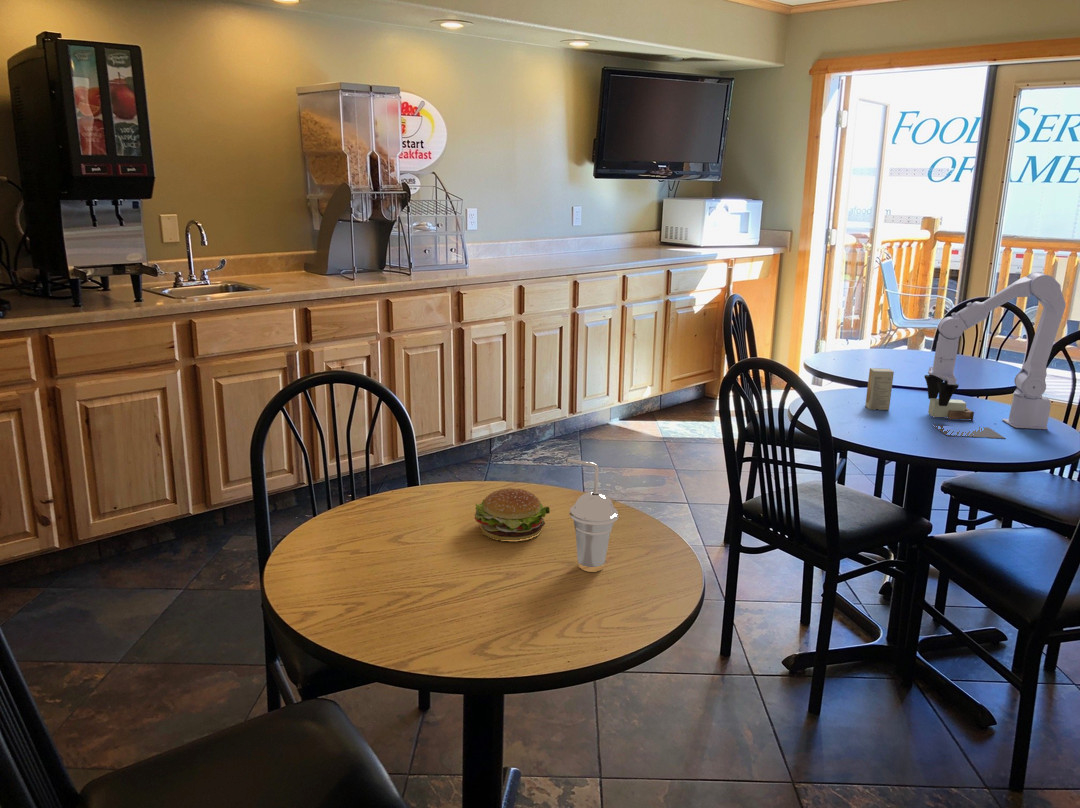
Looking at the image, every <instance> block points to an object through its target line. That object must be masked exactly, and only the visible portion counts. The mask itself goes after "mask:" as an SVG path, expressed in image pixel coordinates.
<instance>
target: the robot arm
mask: <svg viewBox="0 0 1080 808" xmlns="http://www.w3.org/2000/svg"><path fill="white" fill-rule="evenodd" d="M1061 287H1062V286H1061V284H1060V283H1059V282H1058V281H1057V280H1056V278H1054V277H1053V276H1052V275H1049V274H1046V273H1044V272H1042V271H1033V272H1030V273H1029V274H1028V275H1026V276H1022V277H1021V278H1019V279H1017V280H1015V281H1014V282H1013V283H1011V284H1009V285H1008V286H1006V287H1005V288H1003V289H1001V290H1000V291H998V292H997V293H995V294H993V295H991V297H989V298H987V299H986V300H984V301H982V302H981V301H973V302H971V301H970V302H968V303H966V306H965V307H963V308H962V309H960V310H959V311H957V312H952V313H950V314H951V316H947V317H946V316H945V317H944V318H942V319H941V320H940V322H939V323H938V324H937V329H938V331H939V333H938V336H937V341H936V346H935V347H936V348H935V351H934V358H933V365H932V366H929V368H928V371H927V374H924V379H925V382H926V386H927V387H926V388H927V397H928V400H930V398H935V399H939V406H947V405H948V403H949V400H950V399H951V398H952V396H953V395H954V393H955V392H956V390H957V389H959V386H960V385H959V384H958V383H957V380H958V379H957V378H956V377H955V374H954V371H955V367H956V362H957V361H956V359H957V355H958V349H959V341H960V337H961V336H962V335H963V333H964V331H965V330H966V331H967V330H969V329H970V328H972V327H974V326H976V325H977V324H979V323H981V322H982V321H984V320H986V319H987V318H988V316H989V313H990V312H992V311H993V310H995V309H997V308H999V307H1001V306H1003V305H1004V304H1006V303H1009V302H1011V301H1013V300H1014V299H1016V298H1031V296H1033V297H1035V298H1036V299H1037V301H1038V302H1039V303H1040V304H1041V306H1042V307H1043V308H1042V311H1041V315H1040V317H1039V321H1038V324H1037V327H1036V331H1035V333H1034V336H1033V340H1032V343H1031V346H1030V349H1029V352H1028V354H1027V355H1028V356H1027V358H1026V361H1025V362H1024V363H1023V364H1022V367H1021V369H1020V371H1019V372H1017V374H1016V375H1015V377H1014V380H1013V381H1014V385H1015V387H1016V389H1015V390H1014V392H1013V395H1012V400H1011V405H1010V410H1009V411H1010V412H1009V414H1008V415H1009V417H1008V418H1002V419H1001V420H1002V421H1003V422H1005V423H1006V424H1008V425H1010V426H1011V427H1013V428H1016V429H1031V430H1033V429H1034V430H1035V429H1036V430H1048V429H1049V427H1048V422H1049V418H1050V412H1051V407H1052V405H1051V400H1050V399H1049V397H1046V396H1044V395H1043V394H1044V393H1045V392H1046V390H1047V383H1046V378H1047V364H1048V360H1049V359H1050V355H1051V352H1052V349H1053V345H1054V343H1055V340H1056V337H1057V333H1058V331H1059V328H1060V325H1061V322H1062V318H1063V315H1064V313H1065V310H1066V306H1067V305H1066V301H1065V298H1064V295H1063V291H1062V288H1061Z"/></svg>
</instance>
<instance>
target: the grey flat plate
mask: <svg viewBox="0 0 1080 808" xmlns="http://www.w3.org/2000/svg"><path fill="white" fill-rule="evenodd" d="M933 425H934V426H935V427H936V425H938V424H933ZM938 426H940V427H941V429H938ZM938 426H937V427H936V428H937V429H938V430H937V429H936V428H935V427H934V428H935V429H936V430H937V431H939V430H940V431H941V434H943V433H944V434H945V435H944V434H943V435H944V436H946V434H947V433H948V432H949V431H950V430H949V431H948V430H947V431H948V432H947V431H944V432H943V430H944V428H943V424H942V426H941V424H939V425H938ZM978 427H979V430H978V431H977V432H976V430H975V431H973V432H972V433H971V434H970V435H969V433H970V431H969V432H968V433H967V434H966V435H967V436H968V435H969V437H968V438H977V437H988V438H987V439H999V438H1003V440H1005V439H1006V437H1004V436H1003V435H1002V434H1000V433H998V432H997V431H996V430H993V429H991V428H990V427H988V426H987V427H986V426H985V427H986V428H985V427H983V428H984V430H983V431H982V428H981V432H980V427H981V426H978ZM942 428H943V429H942ZM940 431H939V432H940ZM953 432H954V431H953ZM953 432H952V433H953ZM959 432H960V431H959ZM959 432H957V435H958V434H959ZM952 433H951V434H952ZM963 433H964V432H962V433H961V435H960V436H962V435H963ZM965 433H966V432H965ZM951 434H950V435H951ZM973 434H974V435H973ZM950 435H947V436H946V437H951V436H950ZM957 435H956V436H957ZM966 435H965V436H966ZM972 436H973V437H972ZM953 437H955V435H954V436H953Z"/></svg>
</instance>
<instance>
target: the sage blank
mask: <svg viewBox="0 0 1080 808" xmlns="http://www.w3.org/2000/svg"><path fill="white" fill-rule="evenodd" d="M928 404H929V405H928V411H927V414H928V413H929V414H930V415H931V416H934V417H933V418H935V417H948V412H949V410H952V411H965V409H966V408H967V405H968V404H967V403H966V402H965V401H964V400H962V399H951V398H950V400H949V403H948V405H947V406H939V398H937V399H935V398H930V399H929V403H928ZM929 414H928V415H929ZM930 415H929V416H930ZM931 416H930V417H931Z"/></svg>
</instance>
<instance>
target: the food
mask: <svg viewBox="0 0 1080 808" xmlns="http://www.w3.org/2000/svg"><path fill="white" fill-rule="evenodd" d="M550 513H551V512H550V506H543V504H542V503H541V501H540V499H539V498H538V496H536V494H534V493H532V492H530V491H528V490H526V489H520V488H514V487H513V488H511V487H510V488H501V489H500V488H499V489H498V490H497V489H496V490H495V491H493V492H491V493H489V494H488V495H487V496H486V497H485V498H484V499H483V500H482V503H479V504H477V503H475V513H474V519H475V521H476V522H477V523H479V524H480V529H481V532H482V534H483V535H484V534H485V535H484V536H485V537H487V536H488V537H487V538H489V537H490V538H494V539H498V540H520V539H526V538H530V537H532V536H535V535H537V534H538V533H539V532H540V531H541V529H543V527H544V526H545V524H546V521H545V519H544V518H545V517H546V515H547V514H550ZM541 532H542V531H541ZM490 538H489V539H490ZM494 539H493V540H494ZM498 540H497V541H498Z"/></svg>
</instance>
